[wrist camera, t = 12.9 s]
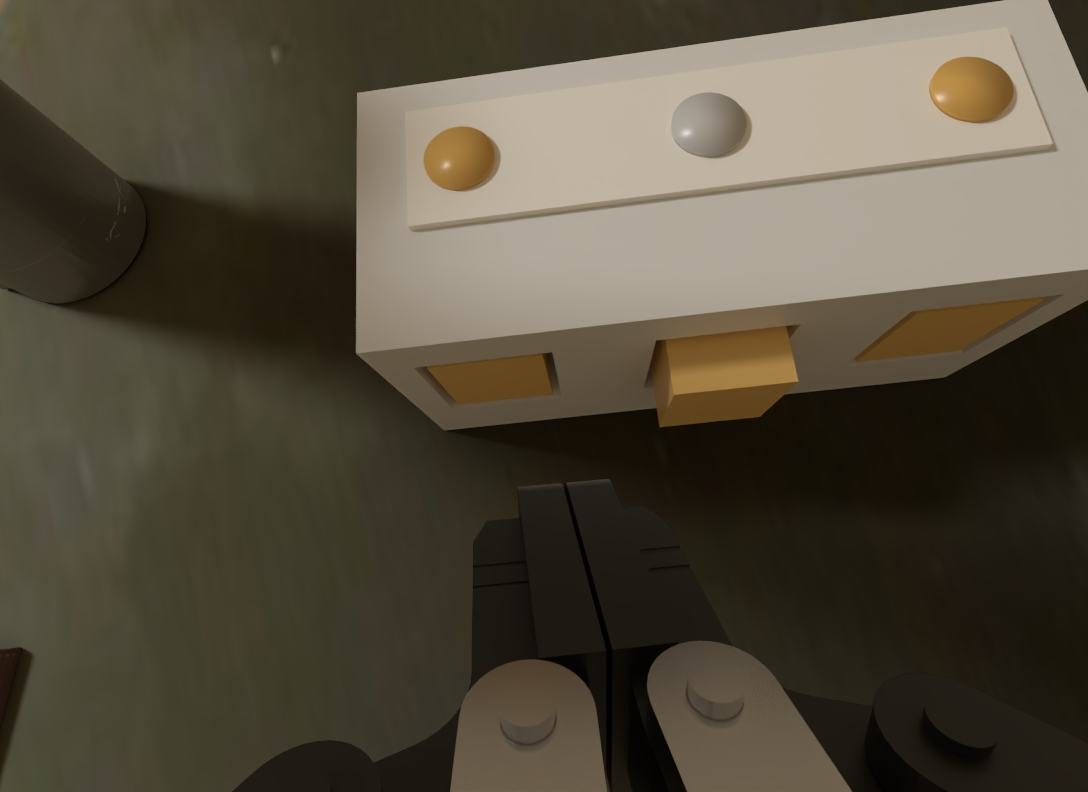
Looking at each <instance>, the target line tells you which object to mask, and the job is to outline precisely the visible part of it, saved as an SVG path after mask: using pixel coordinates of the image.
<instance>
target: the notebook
mask: <svg viewBox="0 0 1088 792" xmlns="http://www.w3.org/2000/svg"><path fill="white" fill-rule="evenodd" d="M21 650H22V648H11V649H4V648H0V727H1V723H2V720H3V716H4V712H5V709H6V705H7V701H8V698H9V694H10V690H11V687H12V683H13V679H14V676H15V672H16V668H17V665H18V661H19V657H20V654H21Z"/></svg>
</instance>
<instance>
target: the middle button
mask: <svg viewBox="0 0 1088 792" xmlns="http://www.w3.org/2000/svg"><path fill="white" fill-rule="evenodd" d="M650 366H651V373H652V379H653V386H654V393H655V400H656V407H657V414H658V420H659V427H667V426H677V425H686V424H696V423H706V422H715V421H725V420H734V419H744V418H754V417H760V416H761V415H762V414H764V413H765V412H766V411H767V410H768V409H769V408H770V407H771V406H772V405H773V404H774V403H776V402H777V401H778V400H779V399H780V398H781V397H782V396H783V395H784V394H785V393H787V392H788V391H789V390H790V389H791V388H792V387H793V386H794V385H795V384H796V383H797V382H798V377H797V372H796V368H795V363H794V359H793V354H792V350H791V345H790V341H789V336H788V332H787V327H786V326H780V327H771V328H762V329H753V330H744V331H735V332H727V333H718V334H709V335H700V336H691V337H682V338H673V339H665V340H656V344H655V347H654V351H653V355H652V359H651V363H650Z"/></svg>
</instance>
